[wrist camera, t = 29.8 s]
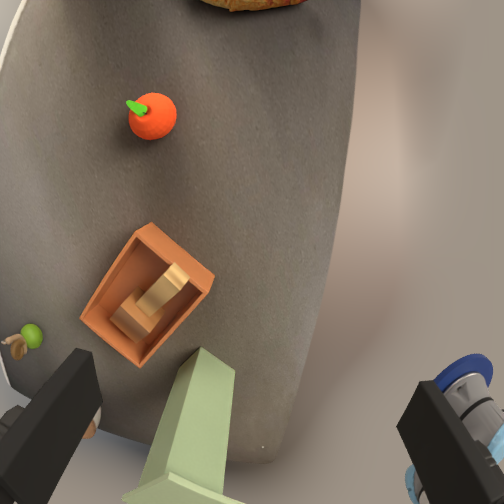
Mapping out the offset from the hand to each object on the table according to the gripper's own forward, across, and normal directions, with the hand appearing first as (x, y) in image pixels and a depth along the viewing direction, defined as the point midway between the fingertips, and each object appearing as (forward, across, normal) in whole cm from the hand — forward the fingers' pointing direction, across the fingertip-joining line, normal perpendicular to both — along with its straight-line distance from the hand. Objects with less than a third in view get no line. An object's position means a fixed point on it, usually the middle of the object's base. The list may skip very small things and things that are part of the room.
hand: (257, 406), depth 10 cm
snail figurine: (+37, -45, -27) cm, 64 cm away
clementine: (+37, -17, +15) cm, 43 cm away
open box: (+37, -17, -13) cm, 42 cm away
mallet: (+33, -14, -11) cm, 37 cm away
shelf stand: (+37, -5, -26) cm, 45 cm away
